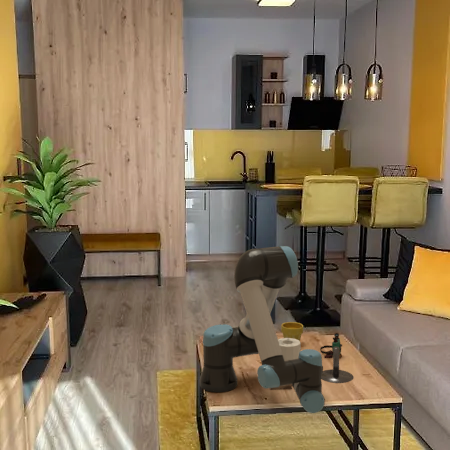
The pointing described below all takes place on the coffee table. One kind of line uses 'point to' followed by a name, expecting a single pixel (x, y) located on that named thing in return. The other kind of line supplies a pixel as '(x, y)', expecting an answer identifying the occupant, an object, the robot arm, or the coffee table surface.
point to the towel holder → (336, 371)
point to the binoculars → (334, 344)
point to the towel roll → (290, 348)
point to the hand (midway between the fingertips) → (292, 362)
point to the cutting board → (283, 387)
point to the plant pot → (292, 330)
